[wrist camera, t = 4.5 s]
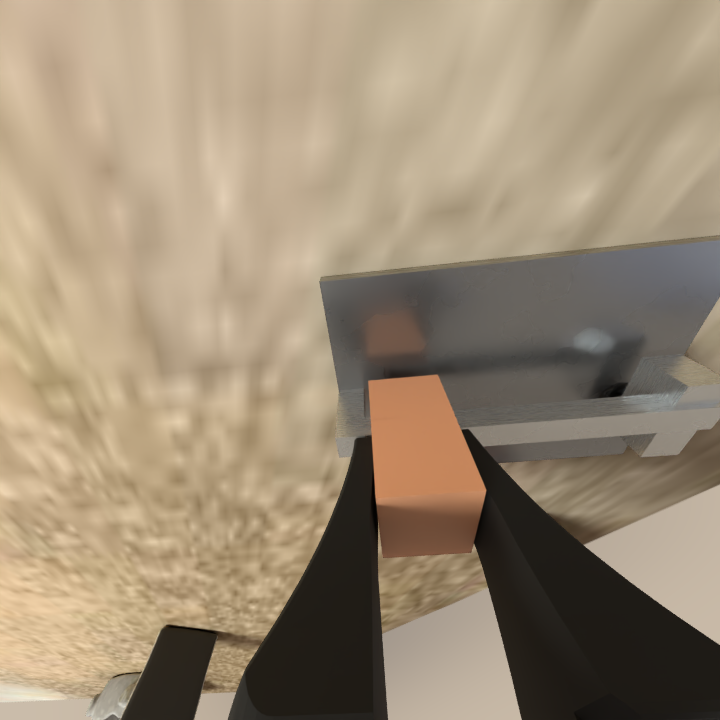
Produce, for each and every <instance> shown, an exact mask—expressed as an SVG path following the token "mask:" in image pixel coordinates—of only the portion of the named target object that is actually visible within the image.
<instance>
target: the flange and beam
mask: <svg viewBox="0 0 720 720" xmlns="http://www.w3.org/2000/svg"><path fill="white" fill-rule="evenodd" d="M319 282H320V288H321V293H322V299H323V305H324V310H325V316H326V321H327V327H328V332H329V338H330V343H331V349H332V355H333V360H334V366H335V371H336V377H337V382H338V388H339V397H338V409H337V422H336V435H335V439H336V444H337V448H338V453H339V457H352V453H353V448H354V440H355V439H356V438H362V437H372V432H371V416H370V400H369V385H368V381H370V380H381V379H393V378H404V377H415V376H427V375H438V376H439V379H440V381H441V383H442V386H443V388H444V390H445V393H446V395H447V398H448V400H449V402H450V405H451V407H452V409H453V412H454V414H455V417H456V419H457V421H458V424H459V426H460V429H461V430H462V429H469V430H470V431H471V432H472V433H473V435H474V436H475V437H476V438H477V440H478V441H479V442H480V443H481V444H482V446H483V447H484V448H485V449H486V450H487V452H488V453H489V454H490V455H491V456H492V457H493V458H494V460H495V461H496V462H497V463H507V462H520V461H534V460H547V459H561V458H574V457H588V456H601V455H615V454H623V453H624V451H625V449H626V448H627V446H629V447H630V448H632V449H633V450H634V451H635V452H636V453H637V454H638V455H639V456H640V457H653V456H667V455H678V454H679V453H680V452H681V451H682V449H683V448H684V447H685V445H686V444H687V443H688V442H689V440H690V439H691V438H692V436H693V435H694V434H695V433H696V431H697V430H704V429H712V428H713V426H714V425H715V424H716V423H717V421H718V420H719V419H720V375H719V374H717V373H715V372H713V371H712V370H710V369H708V368H706V367H704V366H702V365H700V364H699V363H697V362H695V361H693V360H691V359H689V358H687V357H686V356H684V354H685V352H686V351H687V349H688V347H689V346H690V344H691V342H692V341H693V339H694V338H695V336H696V334H697V333H698V331H699V329H700V328H701V326H702V325H703V323H704V321H705V320H706V318H707V317H708V315H709V313H710V312H711V310H712V308H713V307H714V305H715V304H716V302H717V300H718V299H719V297H720V236H710V237H700V238H691V239H681V240H672V241H662V242H653V243H643V244H633V245H624V246H614V247H605V248H595V249H586V250H576V251H567V252H557V253H547V254H538V255H528V256H519V257H509V258H500V259H490V260H481V261H471V262H461V263H452V264H442V265H433V266H423V267H414V268H404V269H394V270H385V271H375V272H366V273H356V274H347V275H337V276H328V277H321V279H320V281H319Z"/></svg>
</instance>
